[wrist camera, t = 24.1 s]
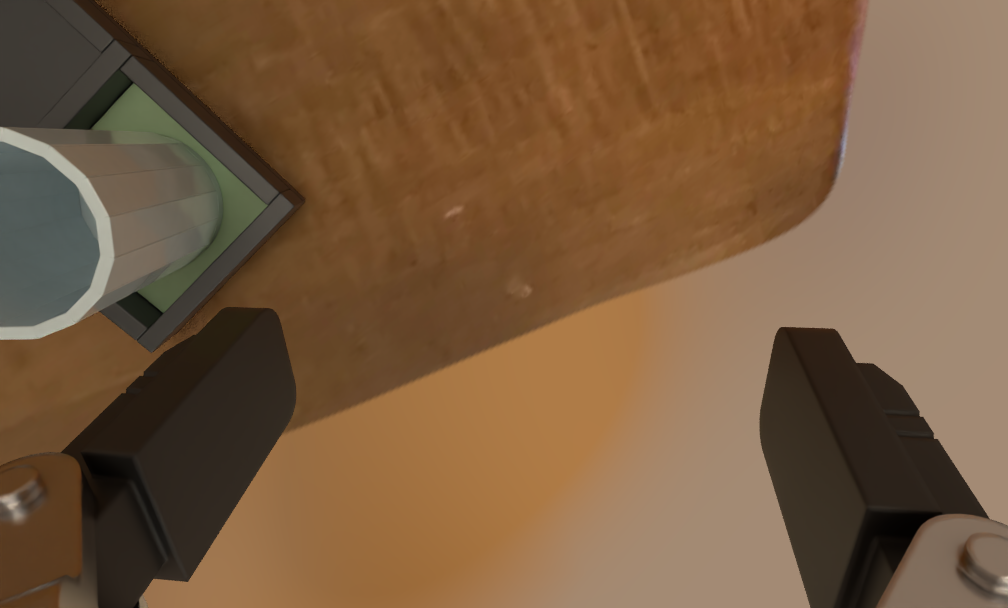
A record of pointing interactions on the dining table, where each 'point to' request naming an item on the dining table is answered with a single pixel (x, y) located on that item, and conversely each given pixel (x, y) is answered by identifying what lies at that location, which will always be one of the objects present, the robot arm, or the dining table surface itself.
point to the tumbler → (94, 221)
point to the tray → (146, 108)
